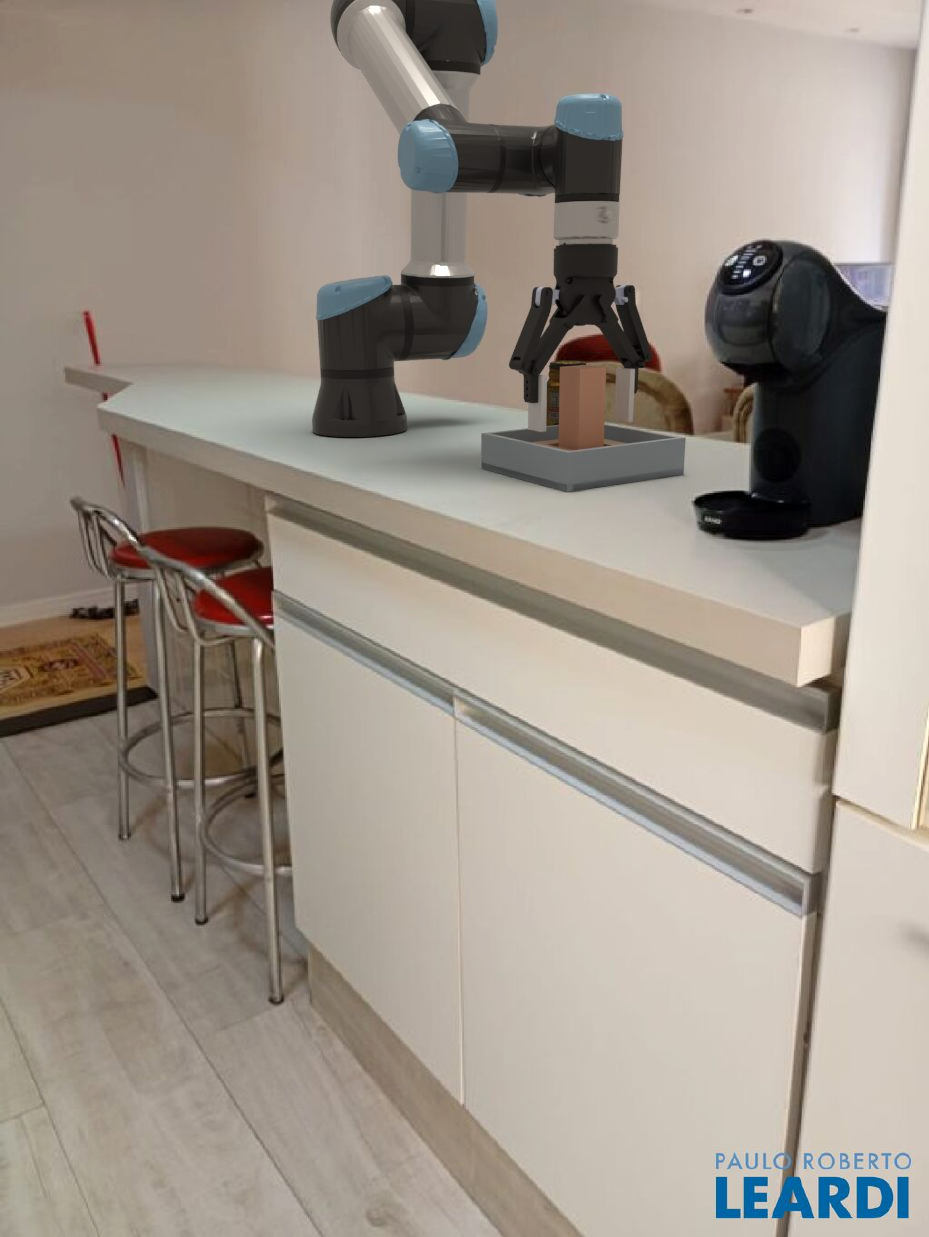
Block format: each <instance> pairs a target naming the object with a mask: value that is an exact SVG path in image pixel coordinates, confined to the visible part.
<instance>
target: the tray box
mask: <svg viewBox="0 0 929 1237" xmlns="http://www.w3.org/2000/svg"><path fill="white" fill-rule="evenodd" d="M480 436H481V438H480V439H481V441H480V443H481V444H480V445H481V446H480V447H481V448H480V449H481V452H480V453H481V455H480V458H481V469H482V470H486V471H489V472H494V473H497V474H500V475H504V476H508V477H511V478H515V479H519V480H522V481H527V482H530V483H533V484H537V485H541V486H544V487H548V488H552V489H555V490H558V491H562V492H566V493H571V492H576V491H584V490H589V489H596V488H602V487H609V486H614V485H622V484H629V483H636V482H641V481H649V480H654V479H655V480H656V479H661V478H669V477H674V476H682V475H684V472H685V458H686V457H685V455H686V442H687V441H686V437H685V436H684V437H683V436H679V435H673V434H667V433H666V434H665V433H661V432H654V431H650V430H644V429H640V428H638V429H637V428H633V427H626V426H623V425H622V426H621V425H615V424H609V423H604V447H597V448H589V449H581V450H571V449H566V448H562V447H558V445H559V425H553V426H546V431H544V432H539V431H534V430H530V429H528V427H526V428H518V429H509V430H507V429H506V430H500V431H490V432H481V435H480Z"/></svg>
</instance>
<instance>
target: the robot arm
mask: <svg viewBox="0 0 929 1237" xmlns="http://www.w3.org/2000/svg"><path fill="white" fill-rule="evenodd" d="M497 13H498V11H497V6H496V1H495V0H332V4H331V8H330V18H329V19H330V21H329V22H330V29H331V33H332V34H331V35H332V38H333V40H334V44H335V45H336V47H337V50H339V52H340V54H341V55H342V57H343V58H344V60H345V62H347V63H348V64H349V65H350V66H352V67H353V68H355V69H357V70H360V72H361V74H362V75H363V77H364V79H365V80H366V82H367V83H368V85H369V87H370V88H371V90H372V92H373V93H374V95H375V97H376V98H377V99H378V101H379V103H380V105H381V106H382V108H383V109H384V111H385V113H386V114H387V116H388V118H389V120H390V121H391V122H392V124H393V126H394V127H395V129H396V131H397V132H398V134H399V138H398V144H397V163H398V168H399V169H400V178H401V180H402V182H403V183H404V185H405V186H406V187H407V188H409V189H410V260H409V262H408V263H407V264H406V265H405V266H404V267H403V268H402V269H401V271H400V284H394V283H393V281H392V278H391V277H390V276H389V275H375V276H368V277H359V278H358V277H357V278H352V279H346V280H340V281H335V282H330V283H327V284H324V285H322V286H320V288H319V289H318V291H317V293H316V314H315V320H316V322H317V335H318V336H317V337H318V353H319V366H320V367H319V369H320V385H319V389H318V393H317V397H316V400H315V405H314V410H313V414H312V419H311V421H312V422H311V424H312V425H311V426H312V433H313V434H315V435H321V436H325V437H327V436H328V437H341V438H342V437H343V438H350V437H351V438H357V437H358V438H363V437H366V438H367V437H375V436H376V437H379V436H387V435H388V436H390V435H394V434H399V433H403V432H405V431H407V430H408V419H407V418H408V417H407V413H406V410H405V407H404V405H403V401H402V398H401V395H400V393H399V390H398V386H397V384H396V379H395V378H396V377H395V362H406V361H407V362H408V361H409V362H410V361H421V360H422V361H425V360H442V361H449V360H451V359H459V358H465V357H468V356H470V355H471V354H473V353H474V352H475V351H476V350H477V348H478V346H479V345H480V344H481V342H482V340H483V338H484V335H485V331H486V326H487V320H488V303H487V302H488V301H486V297H487V295H486V292H485V291H484V288H483V287H482V286H481V285H480V284H478V283H476V282H475V272H474V271H473V269H472V268H471V267H470V266H469V265H468V264H467V261H466V241H467V240H466V238H467V236H466V235H467V201H468V194H469V193H473V194H474V193H476V194H477V193H480V194H481V193H482V194H484V193H485V194H486V193H487V194H510V195H511V194H513V195H520V196H524V197H538V198H542V197H545V196H547V195H551V194H554V211H553V216H554V217H553V239H554V240H556V241H558V244H557V245H555V248H553V276H554V278H555V286H554V288H552V287H550V286H535V287H534V288H533V289H532V292H531V301H530V302H531V303H530V309H529V310H528V314H527V316H526V317H525V318H526V319H525V321H524V323H523V327H522V328H521V331H520V334H519V337H518V339H517V342H516V344H515V346H514V350H513V352H512V355H511V358H510V360H509V363H508V366H509V369H511V370H514V371H516V372H518V373H519V374H521V375H522V376H523V400H524V403H527V428H528V429H530V430H534V431H539V432H544V431H546V410H547V381H548V375H544V374H541V373H542V372H543V370H544V369H545V367H546V366H547V364H548V363H549V361H550V359H551V358H552V357H553V355H554V353H555V352H556V351H557V349H558V347H559V346H560V344H561V343H562V341H563V340H564V338H565V337H566V335H567V333H568V332H569V331H570V330H573V328H574V327H575V326H576V327H580V326H581V327H584V326H595V327H597V328H598V329H599V330H600V332H601V334H603V337H604V338H605V339H606V342H607V343H608V345H609V346H610V348H611V350H612V351H613V352H614V354H615V355H616V357H617V360H619V362H620V363H621V365H622V366H623V367H622V366H621V367H616V368H615V369H616V370H615V390H614V391H615V394H614V397H615V398H614V421H618V422H619V421H621V422H624V423H625V422H627V423H632V422H634V403H635V395H636V394H637V393H638V389H639V388H638V386H639V385H638V384H639V369H644V367H646V365H647V364H646V363H647V362H648V363H649V362H651V361H652V359H653V352H652V349H651V346H650V343H649V339H648V336H647V334H646V331H645V328H644V325H643V322H642V319H641V316H640V312H639V310H638V307H637V303H636V302H637V301H636V300H637V299H636V288H635V285H633V284H618V285H616V286H615V285H614V284H615V283H614V279H615V277H617V275H618V265H619V263H618V262H619V261H618V259H619V247H617V244H614V240H616V239H618V238H619V232H620V230H619V227H620V226H619V225H620V203H621V202H620V195H621V178H622V177H621V176H622V161H623V160H622V159H623V139H624V135H625V134H624V131H623V106H622V102H621V100H620V99H619V98H618V97H617V96H615V95H612V94H609V93H608V94H607V93H598V92H597V93H593V92H591V93H588V92H587V93H577V94H571V95H566V96H563V97H561V98H560V99H559V100H558V103H557V104H556V108H555V117H554V120H553V124H550V125H542V126H536V125H534V126H531V125H512V124H511V125H510V124H495V123H494V124H492V123H477V122H476V123H473V122H470V96H471V95H470V93H471V90H472V87H473V88H474V85H475V84H476V83H477V82H478V81H479V80H480V79H481V68H482V67H484V66H485V65H487V64H488V63H489V62H490V61H491V60H492V58H494V55H495V46H496V45H497V42H498V34H499V30H498V29H499V28H498V27H499V23H498V22H499V21H498V14H497ZM613 304H615V308H616V312H617V313H615V310H614V309H613V307H612V305H613ZM555 305H556V309H555V311H554V313H553V314H552V316H551V317H550V314H551V311H552V307H553V306H555ZM549 317H550V318H549ZM548 319H549V320H548ZM619 321H620V323H619ZM547 322H549V324H548V326H547V327H546V325H547ZM545 327H546V329H545ZM544 329H545V330H544Z"/></svg>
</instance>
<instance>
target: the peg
mask: <svg viewBox="0 0 929 1237" xmlns="http://www.w3.org/2000/svg"><path fill="white" fill-rule="evenodd" d="M606 384H607V367H606V366H599V365H589V364H586V365H579V366H565V367H560V388H559V445H558V447H562V448H566V449H571V450H581V449H589V448H597V447H604V423H605V422H606V421H605V420H606V419H605V416H606V391H607V390H606V389H607V388H606V386H607V385H606ZM605 424H606V423H605Z"/></svg>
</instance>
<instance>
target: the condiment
mask: <svg viewBox="0 0 929 1237" xmlns="http://www.w3.org/2000/svg"><path fill="white" fill-rule="evenodd" d="M579 365H587V363H586V362H585V361H582V360H554V361H551V362H550V363H549V365H548V369H549V370H548V375H547V377H548V378H547V410H546V426H553V425H559V388H560V367H565V366H579Z"/></svg>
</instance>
